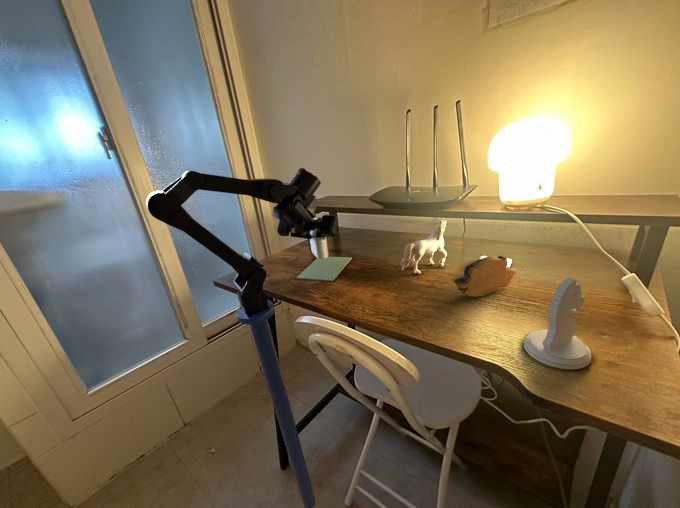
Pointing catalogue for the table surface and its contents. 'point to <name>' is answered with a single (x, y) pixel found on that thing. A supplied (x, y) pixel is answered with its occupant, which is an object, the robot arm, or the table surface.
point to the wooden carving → (485, 276)
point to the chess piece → (561, 332)
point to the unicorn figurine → (426, 248)
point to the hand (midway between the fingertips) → (318, 238)
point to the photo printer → (318, 245)
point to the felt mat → (324, 268)
